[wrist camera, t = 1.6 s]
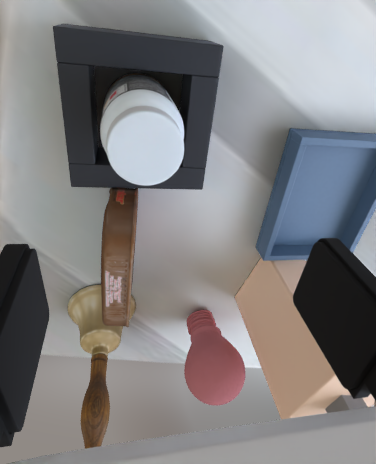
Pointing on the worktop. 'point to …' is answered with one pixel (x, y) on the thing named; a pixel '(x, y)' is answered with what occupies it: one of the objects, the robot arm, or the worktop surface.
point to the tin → (118, 255)
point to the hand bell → (95, 359)
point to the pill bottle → (141, 130)
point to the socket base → (137, 58)
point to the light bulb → (212, 362)
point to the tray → (319, 193)
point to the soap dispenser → (289, 344)
